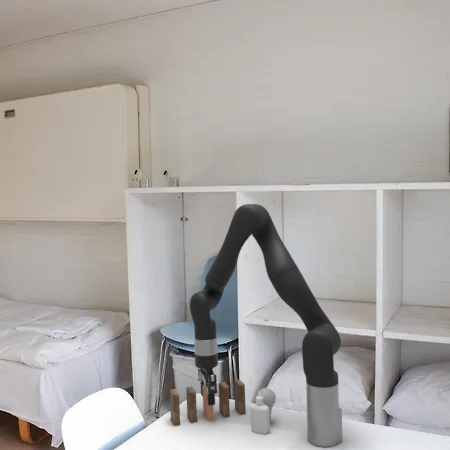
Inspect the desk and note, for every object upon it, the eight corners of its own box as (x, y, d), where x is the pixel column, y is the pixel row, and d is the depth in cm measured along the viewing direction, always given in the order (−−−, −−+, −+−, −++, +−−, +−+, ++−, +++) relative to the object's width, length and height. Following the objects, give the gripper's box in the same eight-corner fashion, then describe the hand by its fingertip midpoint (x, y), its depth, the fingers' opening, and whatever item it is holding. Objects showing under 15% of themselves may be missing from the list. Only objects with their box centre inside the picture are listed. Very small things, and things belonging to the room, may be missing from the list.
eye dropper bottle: (260, 426, 166) (259, 388, 166) (272, 432, 162) (270, 393, 161) (249, 430, 164) (248, 391, 163) (260, 436, 159) (259, 397, 159)
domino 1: (176, 418, 174) (175, 388, 173) (180, 425, 169) (179, 394, 169) (170, 419, 173) (169, 389, 173) (174, 426, 169) (172, 395, 168)
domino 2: (193, 416, 176) (192, 386, 175) (197, 422, 171) (195, 391, 170) (187, 417, 175) (186, 387, 174) (191, 423, 170) (189, 392, 170)
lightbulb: (263, 416, 173) (262, 383, 172) (279, 421, 170) (278, 387, 169) (253, 423, 168) (252, 389, 167) (269, 428, 165) (268, 393, 164)
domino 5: (240, 408, 181) (239, 379, 180) (245, 414, 176) (244, 384, 175) (235, 409, 180) (234, 380, 179) (239, 415, 175) (238, 385, 175)
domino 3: (209, 413, 177) (208, 384, 177) (213, 419, 172) (212, 389, 172) (203, 414, 177) (202, 384, 176) (207, 420, 172) (206, 390, 171)
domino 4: (225, 410, 179) (224, 381, 178) (229, 416, 174) (228, 386, 173) (219, 411, 178) (218, 382, 178) (223, 417, 174) (222, 387, 173)
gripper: (223, 356, 167) (225, 406, 169) (211, 344, 181) (212, 390, 182) (200, 359, 165) (202, 410, 166) (189, 346, 179) (191, 394, 180)
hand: (207, 400), depth 174 cm, fingers open, 8 cm apart
